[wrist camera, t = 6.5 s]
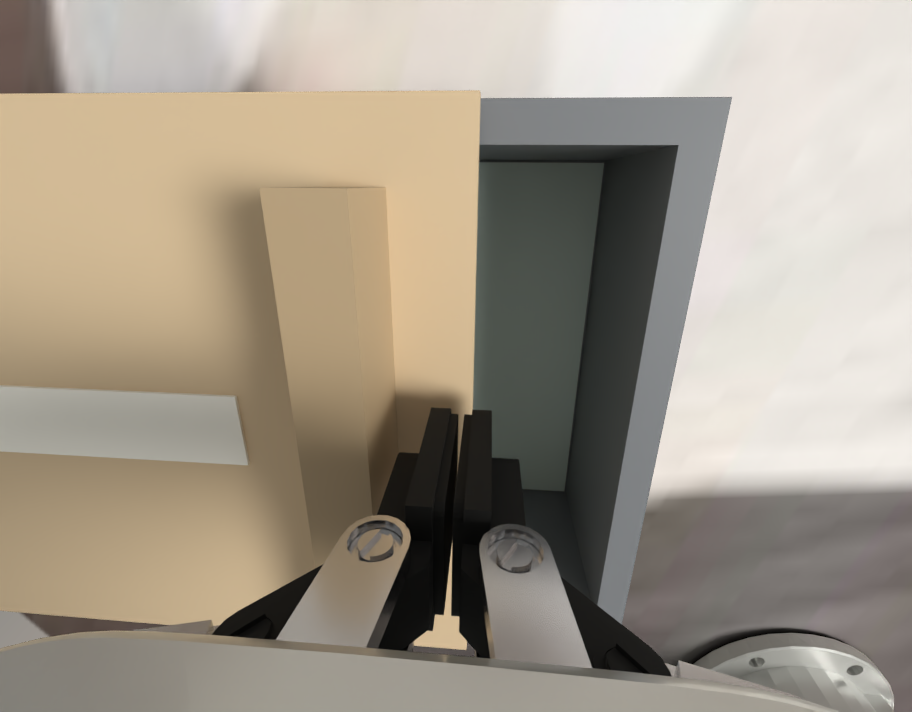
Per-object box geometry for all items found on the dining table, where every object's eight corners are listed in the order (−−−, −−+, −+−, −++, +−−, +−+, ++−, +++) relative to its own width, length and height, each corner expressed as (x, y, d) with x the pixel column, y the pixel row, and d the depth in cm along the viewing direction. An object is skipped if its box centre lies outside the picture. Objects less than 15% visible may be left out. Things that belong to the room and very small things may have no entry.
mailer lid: (480, 95, 10) (474, 52, 7) (467, 634, 17) (460, 746, 13) (-405, 100, 12) (-758, 68, 8) (-100, 588, 18) (-231, 677, 15)
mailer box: (630, 133, 17) (731, 97, 10) (580, 498, 24) (618, 638, 17) (70, 133, 19) (-197, 102, 12) (167, 474, 26) (35, 591, 18)
